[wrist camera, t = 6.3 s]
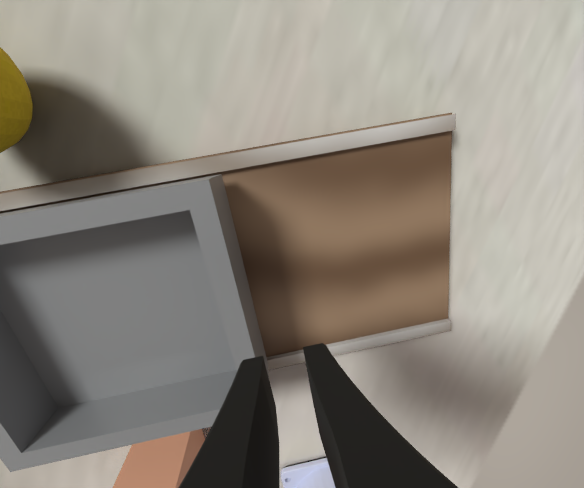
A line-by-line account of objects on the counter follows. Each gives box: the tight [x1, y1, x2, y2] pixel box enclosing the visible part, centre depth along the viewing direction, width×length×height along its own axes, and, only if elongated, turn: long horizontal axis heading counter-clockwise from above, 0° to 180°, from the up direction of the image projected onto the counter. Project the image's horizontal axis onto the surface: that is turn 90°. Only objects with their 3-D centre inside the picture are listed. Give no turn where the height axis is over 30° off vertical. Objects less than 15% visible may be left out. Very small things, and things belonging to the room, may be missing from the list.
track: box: [0, 113, 456, 370], centre depth 15 cm, size 14×27×4 cm, turn 100°
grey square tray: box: [0, 174, 269, 472], centre depth 14 cm, size 12×13×4 cm
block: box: [113, 429, 205, 488], centre depth 18 cm, size 4×4×6 cm
